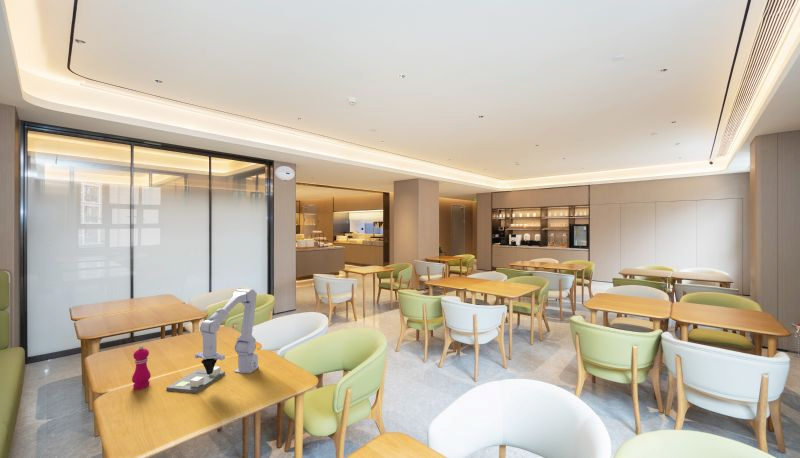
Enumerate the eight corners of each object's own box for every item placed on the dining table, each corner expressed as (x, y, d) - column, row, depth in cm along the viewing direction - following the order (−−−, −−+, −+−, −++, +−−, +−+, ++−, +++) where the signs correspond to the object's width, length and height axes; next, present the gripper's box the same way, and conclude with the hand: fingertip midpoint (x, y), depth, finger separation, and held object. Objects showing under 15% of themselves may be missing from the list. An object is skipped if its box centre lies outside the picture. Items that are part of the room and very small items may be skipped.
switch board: (225, 374, 177) (225, 371, 177) (196, 393, 157) (196, 389, 157) (198, 372, 180) (198, 368, 180) (166, 390, 160) (166, 386, 160)
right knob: (220, 372, 175) (220, 366, 175) (215, 375, 171) (215, 369, 171) (213, 371, 176) (213, 366, 176) (208, 375, 172) (208, 369, 172)
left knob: (203, 383, 163) (203, 377, 163) (197, 387, 159) (197, 380, 159) (196, 382, 164) (196, 376, 164) (190, 386, 160) (190, 380, 160)
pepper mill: (140, 391, 159) (140, 349, 159) (128, 389, 161) (127, 348, 160) (154, 383, 166) (154, 343, 166) (142, 382, 168) (142, 342, 167)
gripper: (189, 347, 157) (189, 376, 158) (217, 349, 155) (217, 378, 155) (201, 342, 164) (201, 369, 164) (227, 344, 162) (227, 372, 162)
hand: (209, 373), depth 160 cm, fingers closed
